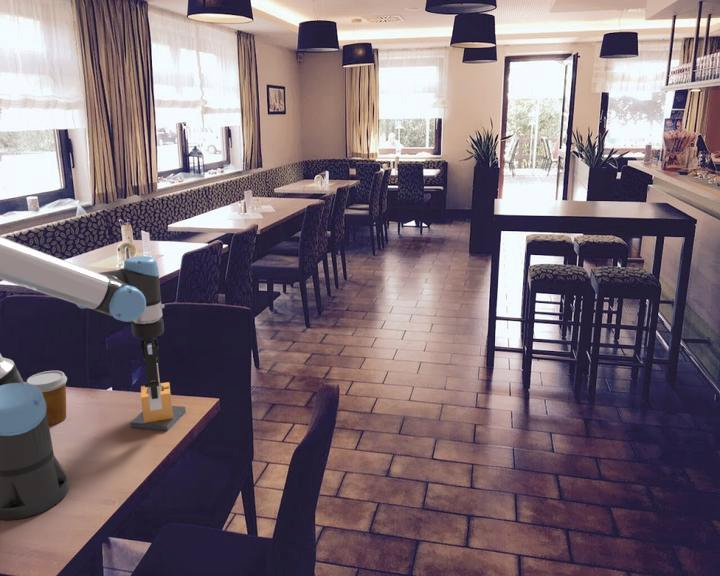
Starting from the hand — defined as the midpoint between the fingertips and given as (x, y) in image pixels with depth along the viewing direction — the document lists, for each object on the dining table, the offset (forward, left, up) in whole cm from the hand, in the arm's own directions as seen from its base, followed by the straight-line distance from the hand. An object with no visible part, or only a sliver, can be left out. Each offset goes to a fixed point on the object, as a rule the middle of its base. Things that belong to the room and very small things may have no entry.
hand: (155, 397), depth 154 cm
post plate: (0, 0, -6) cm, 6 cm away
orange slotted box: (0, 0, -5) cm, 5 cm away
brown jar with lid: (-16, +23, -7) cm, 29 cm away
